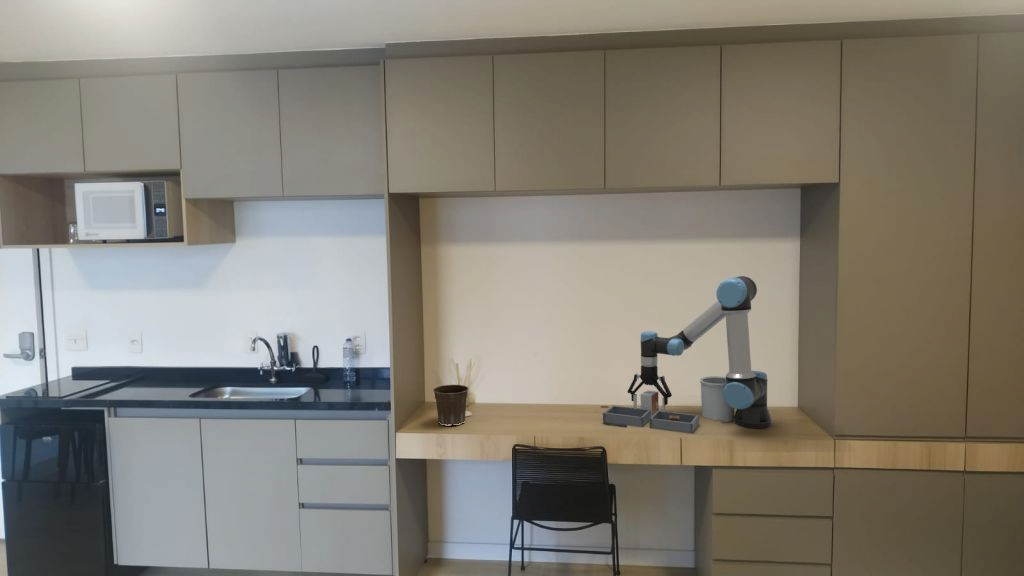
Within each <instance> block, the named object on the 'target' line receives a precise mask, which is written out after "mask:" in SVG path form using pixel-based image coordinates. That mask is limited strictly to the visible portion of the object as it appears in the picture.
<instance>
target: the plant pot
mask: <svg viewBox="0 0 1024 576" xmlns="http://www.w3.org/2000/svg"><path fill="white" fill-rule="evenodd" d="M468 391H469V386H466V385H463V384H446V385H445V384H444V385H439V386H437V387H435V388H433V389H432V392H433V393H434V399H435V403H436V411H437V421H438V423H439V422H440V423H441V424H447V425H448V424H459V423H462V422H464V421H465V422H466V411H467V409H466V408H467V398H468V393H469V392H468Z"/></svg>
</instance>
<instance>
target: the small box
mask: <svg viewBox="0 0 1024 576" xmlns="http://www.w3.org/2000/svg"><path fill="white" fill-rule="evenodd" d="M659 408H660V407H659V391H658V390H657V391H656V390H646V391H644V392H642V393H640V409H649V410H651V417H652V416H653V415H654V414H655V413H656V412H657V411H660V410H659Z"/></svg>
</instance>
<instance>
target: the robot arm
mask: <svg viewBox="0 0 1024 576" xmlns="http://www.w3.org/2000/svg"><path fill="white" fill-rule="evenodd" d="M757 293H758V287H757V284H756V282H755V281H754V280H753V279H752V278H750V277H748V276H745V275H743V276H742V275H740V276H737V277H736V276H735V277H729V278H727V279H725V280H723V281H721V282H720V283H719V285H718V286H717V288H716V292H715V294H716V299H717V301H715V302H714V303H713V304H712V305H711V306H709V308H707V309H706V310H705V311H703V313H701V314H700V315H699V316H697V317H696V318H695V319H694V320H693V321H692V322H691V323H689V324H688V325H686V327H684V328H683V329H682V330H681V331H680V332H679V333H677V334H676V335H673V336H670V337H663V336H662V337H661V336H658V335H659V334H658V332H656V331H649V330H647V331H643V332H641V334H640V374H638V373H635V374H634V375H633V379H632V382H631V383H630V386H629V387H628V390H627V394H630V395H631V402H633V408H638V405H637V404H638V398H637V396H638V394H637V391H638V390H639V389H641V387H642V386H643V385H645V386H654V387H655V389H657V392H658V393H659V394H660V395H662V398H661V399H662V404H661V405H662V407H661V408H662V410H661V411H666V409H667V407H666V406H667V405H668V403H669V401H668V400H669V398H670V399H671V397H672V396H673V394H672V392H671V390H670V388H669V386H668V384H667V382H666V379H665V378H666V377H665V375H662V376H659V374H658V371H659V370H658V369H659V367H658V354H659V355H667V356H676V357H677V356H681V355H682V354H683V353H684V351H687V350H688V349H689V348H691V347H692V346H693V344H694V343H695V342H697V340H699V339H700V338H701V337H702V336H704V335H705V334H706V333H708V332H710V330H711V329H712V328H714V327H715V326H716V325H717V324H719V322H721V321H722V320H725V326H726V327H725V328H726V339H727V340H726V342H727V344H726V345H727V357H728V372H727V373H726V374H725V377H726V386H725V387H724V390H723V397H724V399H725V401H726V402H727V403H728V404H729V405H730V406H731V407H733V408H735V409H736V411H735V412H734V420H733V422H734V424H736V425H737V426H741V427H744V428H749V429H767V428H769V427H772V417H771V414H770V411H769V409H768V375H767V373H766V372H764V371H759V370H752V362H751V361H752V360H751V345H750V343H751V342H750V332H749V316H748V315H749V312H751V311H752V301H753V300H754V299H755V298H756V296H757ZM639 379H640V380H641V382H640V383H639V384H638V385H637V386H636V387H635V385H636V383H637V382H638V380H639ZM658 380H659V382H660V383H661V384H659V382H658ZM661 385H662V386H661ZM634 387H635V388H634ZM735 409H734V410H735ZM666 412H667V411H666Z"/></svg>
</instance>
